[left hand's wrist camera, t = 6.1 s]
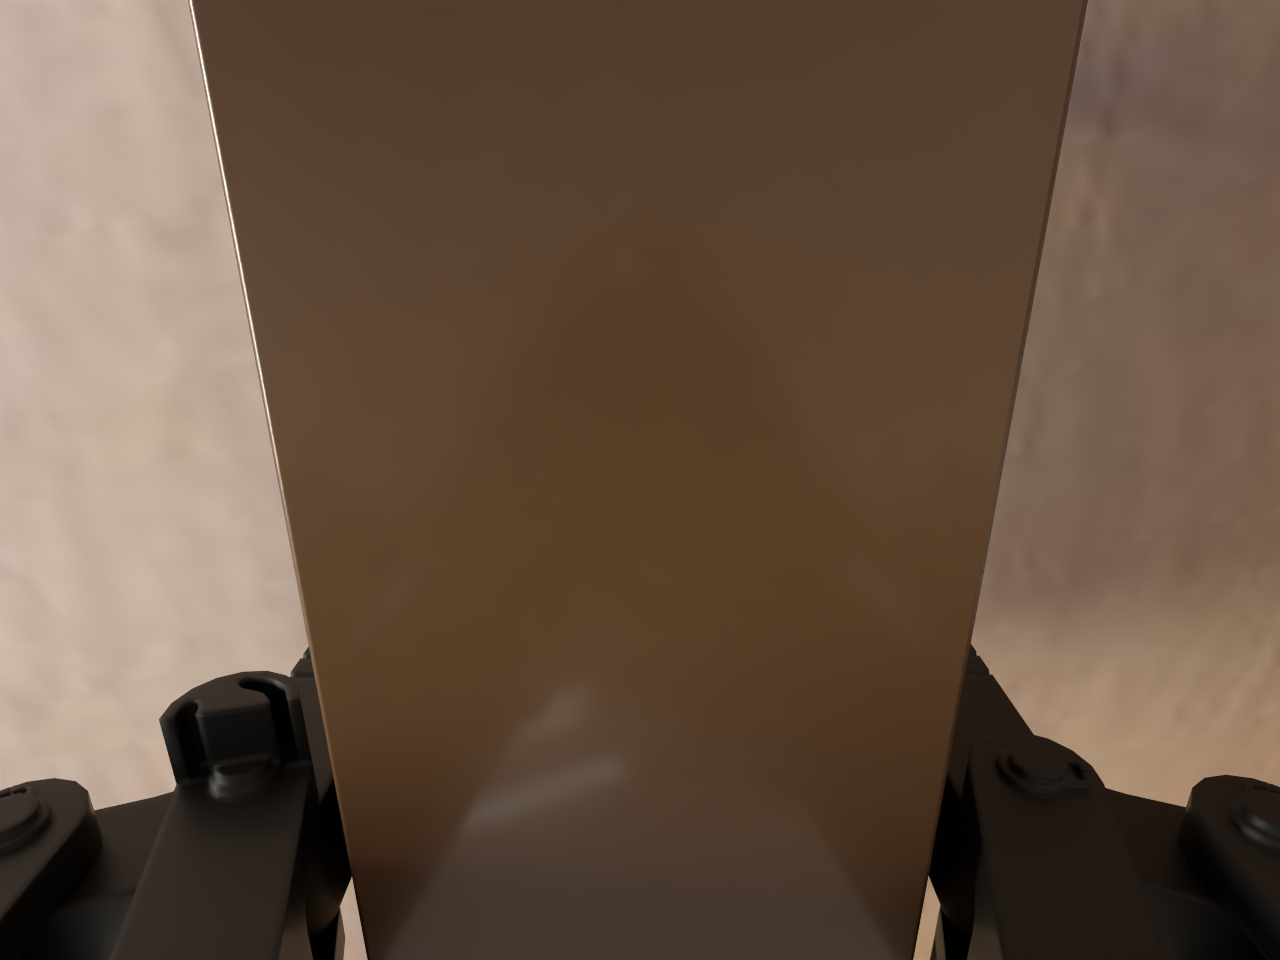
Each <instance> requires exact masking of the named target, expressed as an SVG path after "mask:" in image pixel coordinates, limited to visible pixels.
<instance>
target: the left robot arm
mask: <svg viewBox="0 0 1280 960" xmlns="http://www.w3.org/2000/svg"><path fill="white" fill-rule="evenodd" d="M303 655H304V656H303V659H300V660H299V661H298V663H297V664H296V666H295V667H294V669H293V670H292V672H291V677H288V676H286V675H282V674H278V673H274V672H270V671H253V672H240V673H236V674H232V675H228V676H223V677H219V678H216V679H214V680H211V681H209V682H207V683H204V684H202V685H200V686H198V687H195V688H193V689H191V690H190V691H188V692H187V693H185V694H184V695H183V696H181V697H180V698H178V699H177V700H176V701H174V702H173V703H171V705H170V706H169V707H168V709H167V710H166V711H165V712H164V714H163V715H162V716H161V718H160V719H159V721H160V725H161V729H162V732H163V736H164V740H165V743H166V747H167V751H168V754H169V758H170V762H171V765H172V769H173V773H174V776H175V780H176V784H177V785H176V787H175V790H174V792H170V793H167V794H163V795H160V796H156V797H153V798H148V799H144V800H140V801H135V802H131V803H126V804H122V805H117V806H113V807H108V808H104V809H99V810H95V811H94V809H93V806H92V803H91V799H90V796H89V793H88V791H87V790H86V789H85V788H83V787H82V786H81V785H80V784H78V783H77V782H76V781H70V780H63V779H56V778H52V779H45V780H38V781H30V782H25V783H22V784H19V785H16V786H13V787H10V788H6V789H4V790H1V791H0V960H343V956H344V945H345V933H344V927H343V921H342V915H341V910H340V904H341V902H342V899H343V897H344V894H345V892H346V889H347V887H348V885H349V882H350V880H351V877H352V873H351V868H350V862H349V857H348V852H347V846H346V841H345V836H344V830H343V825H342V820H341V814H340V809H339V803H338V798H337V793H336V787H335V782H334V777H333V771H332V766H331V761H330V755H329V750H328V745H327V739H326V734H325V729H324V723H323V718H322V713H321V707H320V702H319V697H318V691H317V686H316V681H315V675H314V670H313V665H312V659H311V654H310V648H309V647H308V648H307V650H306V651H305V653H304V654H303ZM929 877H930V880H931V882H932V885H933V887H934V890H935V892H936V895H937V897H938V899H939V902H940V904H941V905H940V910H939V915H938V921H937V926H936V931H935V936H934V942H933V947H932V952H931V958H930V960H1280V787H1278V786H1275V785H1273V784H1269V783H1267V782H1263V781H1259V780H1256V779H1253V778H1246V777H1239V776H1231V775H1221V776H1214V777H1207V778H1204V779H1203V780H1201V781H1200V782H1199V783H1198V784H1196V785H1195V786H1194V787H1193V788H1192V791H1191V794H1190V797H1189V800H1188V803H1187V806H1186V807H1182V806H1178V805H1173V804H1169V803H1164V802H1160V801H1155V800H1151V799H1146V798H1142V797H1137V796H1132V795H1128V794H1124V793H1121V792H1117V791H1114V790H1111V789H1107V788H1105V786H1104V784H1103V782H1102V781H1101V779H1100V778H1099V776H1098V775H1097V773H1096V772H1095V770H1094V769H1093V767H1092V766H1091V765H1090V764H1089V763H1087V762H1086V761H1085V760H1084V759H1082V758H1081V757H1080V756H1079V755H1077V754H1076V753H1075V752H1074V751H1072V750H1070V749H1068V748H1066V747H1064V746H1062V745H1060V744H1058V743H1056V742H1054V741H1052V740H1050V739H1047V738H1043V737H1040V736H1036V735H1034V734H1033V733H1032V731H1031V730H1030V729H1029V727H1028V726H1027V724H1026V723H1025V721H1024V720H1023V718H1022V717H1021V716H1020V714H1019V713H1018V711H1017V710H1016V708H1015V707H1014V705H1013V704H1012V703H1011V701H1010V700H1009V698H1008V697H1007V695H1006V694H1005V692H1004V691H1003V690H1002V688H1001V687H1000V685H999V684H998V682H997V681H996V679H995V678H994V676H993V675H989V669H988V668H987V666H986V665H985V663H984V662H983V661H982V659H981V658H980V656H977V655H976V650H975V649H974V648H973V646H972V645H971V644H970V650H969V655H968V661H967V666H966V672H965V677H964V683H963V688H962V694H961V699H960V705H959V710H958V716H957V721H956V727H955V732H954V737H953V743H952V748H951V754H950V759H949V765H948V770H947V776H946V781H945V787H944V792H943V798H942V803H941V809H940V814H939V820H938V825H937V831H936V836H935V842H934V847H933V853H932V858H931V864H930V869H929Z"/></svg>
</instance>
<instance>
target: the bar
mask: <svg viewBox="0 0 1280 960" xmlns="http://www.w3.org/2000/svg"><path fill="white" fill-rule="evenodd" d="M1087 1H1088V0H188V2H189V7H190V12H191V18H192V23H193V28H194V34H195V39H196V44H197V50H198V55H199V61H200V66H201V71H202V77H203V82H204V87H205V93H206V98H207V103H208V109H209V114H210V119H211V125H212V130H213V135H214V141H215V146H216V151H217V157H218V162H219V167H220V173H221V178H222V183H223V189H224V194H225V199H226V205H227V210H228V216H229V221H230V226H231V232H232V237H233V242H234V248H235V253H236V258H237V264H238V269H239V274H240V280H241V285H242V290H243V296H244V301H245V306H246V312H247V317H248V322H249V328H250V333H251V338H252V344H253V349H254V355H255V360H256V365H257V371H258V376H259V381H260V387H261V392H262V397H263V403H264V408H265V413H266V419H267V424H268V429H269V435H270V440H271V445H272V451H273V456H274V461H275V467H276V472H277V477H278V483H279V488H280V493H281V499H282V504H283V510H284V515H285V520H286V526H287V531H288V536H289V542H290V547H291V552H292V558H293V563H294V568H295V574H296V579H297V584H298V590H299V595H300V600H301V606H302V611H303V616H304V622H305V627H306V632H307V638H308V643H309V648H310V654H311V659H312V665H313V670H314V675H315V681H316V686H317V691H318V697H319V702H320V707H321V713H322V718H323V723H324V729H325V734H326V739H327V745H328V750H329V755H330V761H331V766H332V771H333V777H334V782H335V787H336V793H337V798H338V803H339V809H340V814H341V820H342V825H343V830H344V836H345V841H346V846H347V852H348V857H349V862H350V868H351V873H352V878H353V884H354V889H355V894H356V900H357V905H358V910H359V916H360V921H361V926H362V932H363V937H364V942H365V948H366V953H367V958H368V960H913V957H914V952H915V946H916V941H917V935H918V930H919V924H920V919H921V913H922V908H923V902H924V897H925V891H926V886H927V880H928V875H929V869H930V864H931V858H932V853H933V847H934V842H935V836H936V831H937V825H938V820H939V814H940V809H941V803H942V798H943V792H944V787H945V781H946V776H947V770H948V765H949V759H950V754H951V748H952V743H953V737H954V732H955V727H956V721H957V716H958V710H959V705H960V699H961V694H962V688H963V683H964V677H965V672H966V666H967V661H968V655H969V650H970V644H971V639H972V633H973V628H974V622H975V617H976V611H977V606H978V600H979V595H980V589H981V584H982V578H983V573H984V567H985V562H986V556H987V551H988V545H989V540H990V534H991V529H992V523H993V518H994V512H995V507H996V501H997V496H998V490H999V485H1000V479H1001V474H1002V468H1003V463H1004V457H1005V452H1006V446H1007V441H1008V435H1009V430H1010V424H1011V419H1012V413H1013V408H1014V402H1015V397H1016V391H1017V386H1018V380H1019V375H1020V369H1021V364H1022V358H1023V353H1024V347H1025V342H1026V336H1027V331H1028V325H1029V320H1030V314H1031V309H1032V303H1033V298H1034V292H1035V287H1036V281H1037V276H1038V270H1039V265H1040V259H1041V254H1042V248H1043V243H1044V238H1045V232H1046V227H1047V221H1048V216H1049V210H1050V205H1051V199H1052V194H1053V188H1054V183H1055V177H1056V172H1057V166H1058V161H1059V155H1060V150H1061V144H1062V139H1063V133H1064V128H1065V122H1066V117H1067V111H1068V106H1069V100H1070V95H1071V89H1072V84H1073V78H1074V73H1075V67H1076V62H1077V56H1078V51H1079V45H1080V40H1081V34H1082V29H1083V23H1084V18H1085V12H1086V7H1087Z"/></svg>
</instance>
